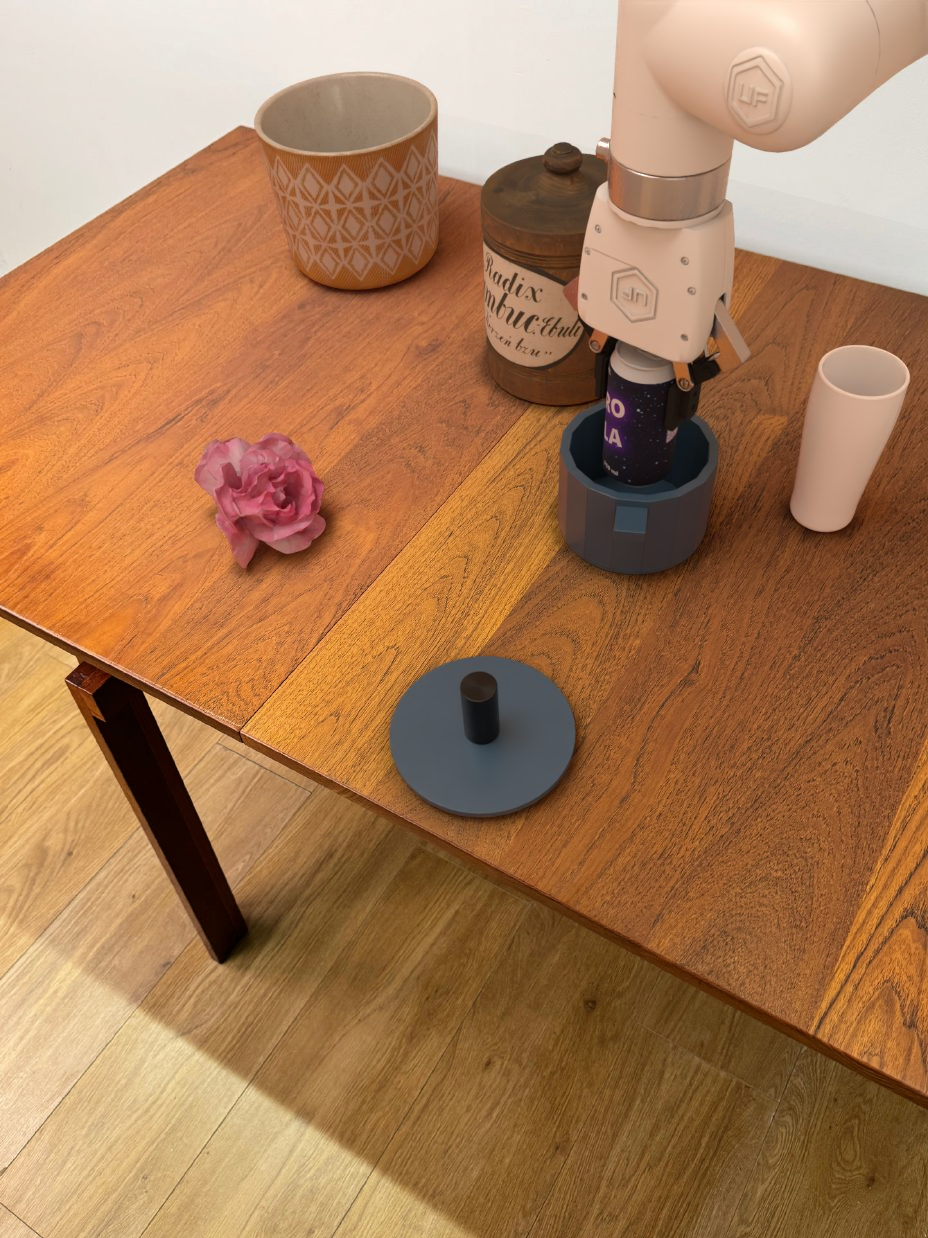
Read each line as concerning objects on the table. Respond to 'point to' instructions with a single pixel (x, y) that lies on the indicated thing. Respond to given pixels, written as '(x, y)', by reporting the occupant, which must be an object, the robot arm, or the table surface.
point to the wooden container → (538, 274)
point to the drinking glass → (845, 432)
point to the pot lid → (482, 736)
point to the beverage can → (637, 417)
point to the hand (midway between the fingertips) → (643, 403)
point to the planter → (354, 175)
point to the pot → (634, 499)
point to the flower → (262, 494)
